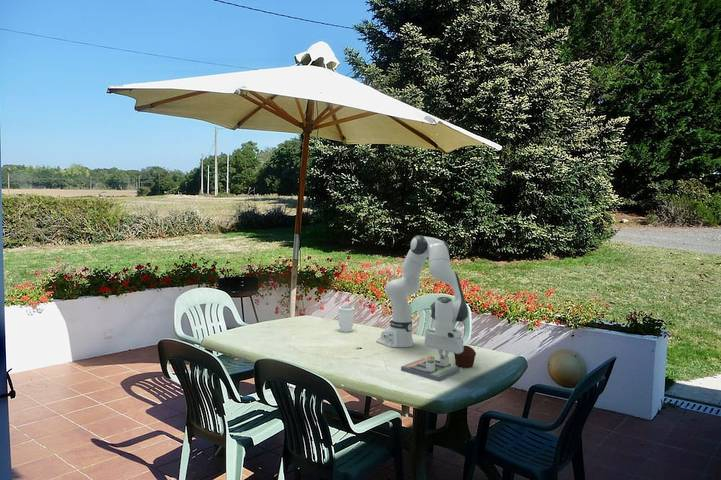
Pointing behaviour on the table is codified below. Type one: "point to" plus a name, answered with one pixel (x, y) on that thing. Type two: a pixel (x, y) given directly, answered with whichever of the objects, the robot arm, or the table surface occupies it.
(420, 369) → the panel
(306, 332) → the table surface
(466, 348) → the muffin
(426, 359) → the breaker mid
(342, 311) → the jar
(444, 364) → the breaker
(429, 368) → the breaker
